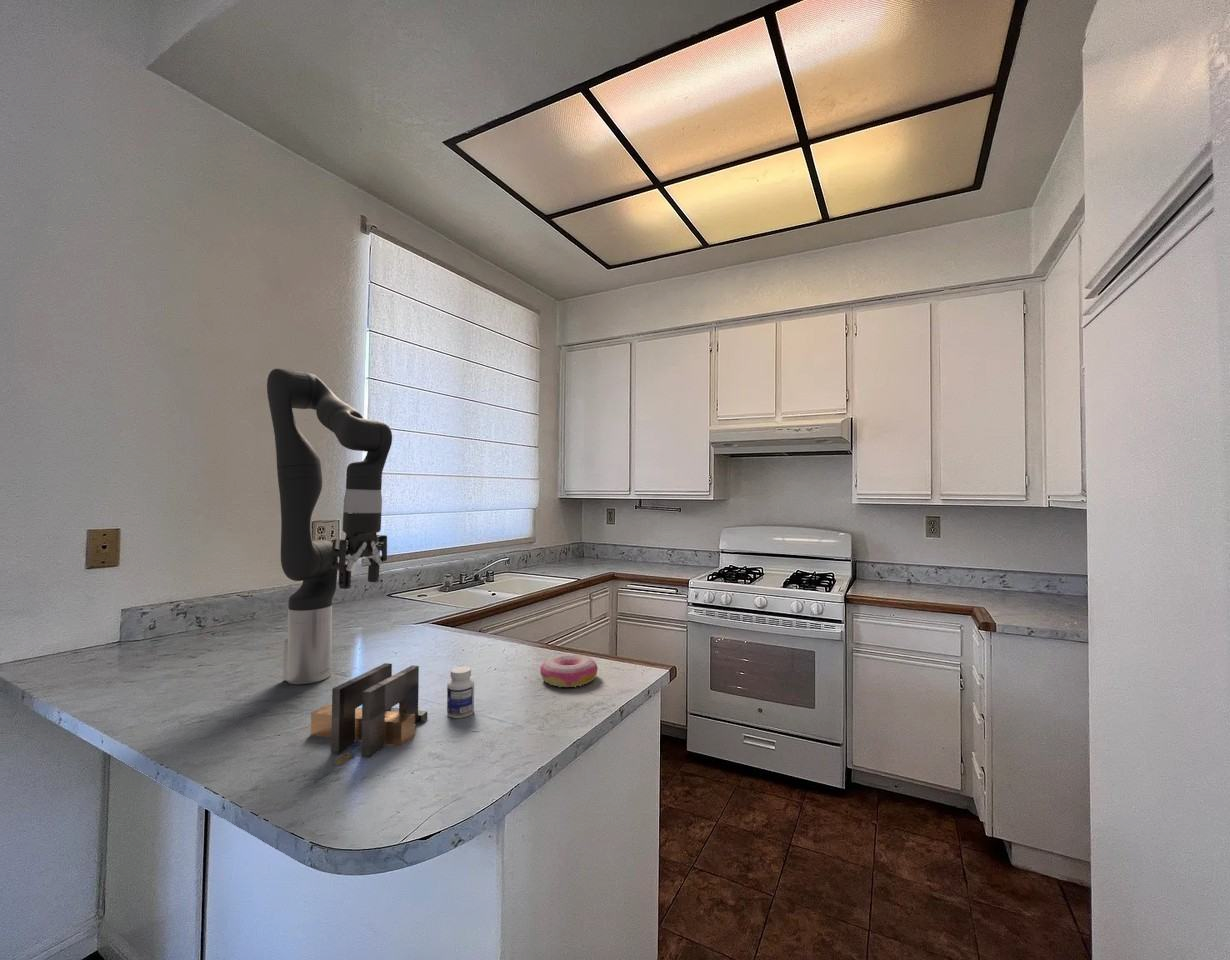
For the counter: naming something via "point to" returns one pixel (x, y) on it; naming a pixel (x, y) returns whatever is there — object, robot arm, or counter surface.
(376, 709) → the dark two-tier wooden rack
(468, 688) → the pill bottle
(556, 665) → the donut
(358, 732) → the tall wooden block
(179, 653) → the counter surface
